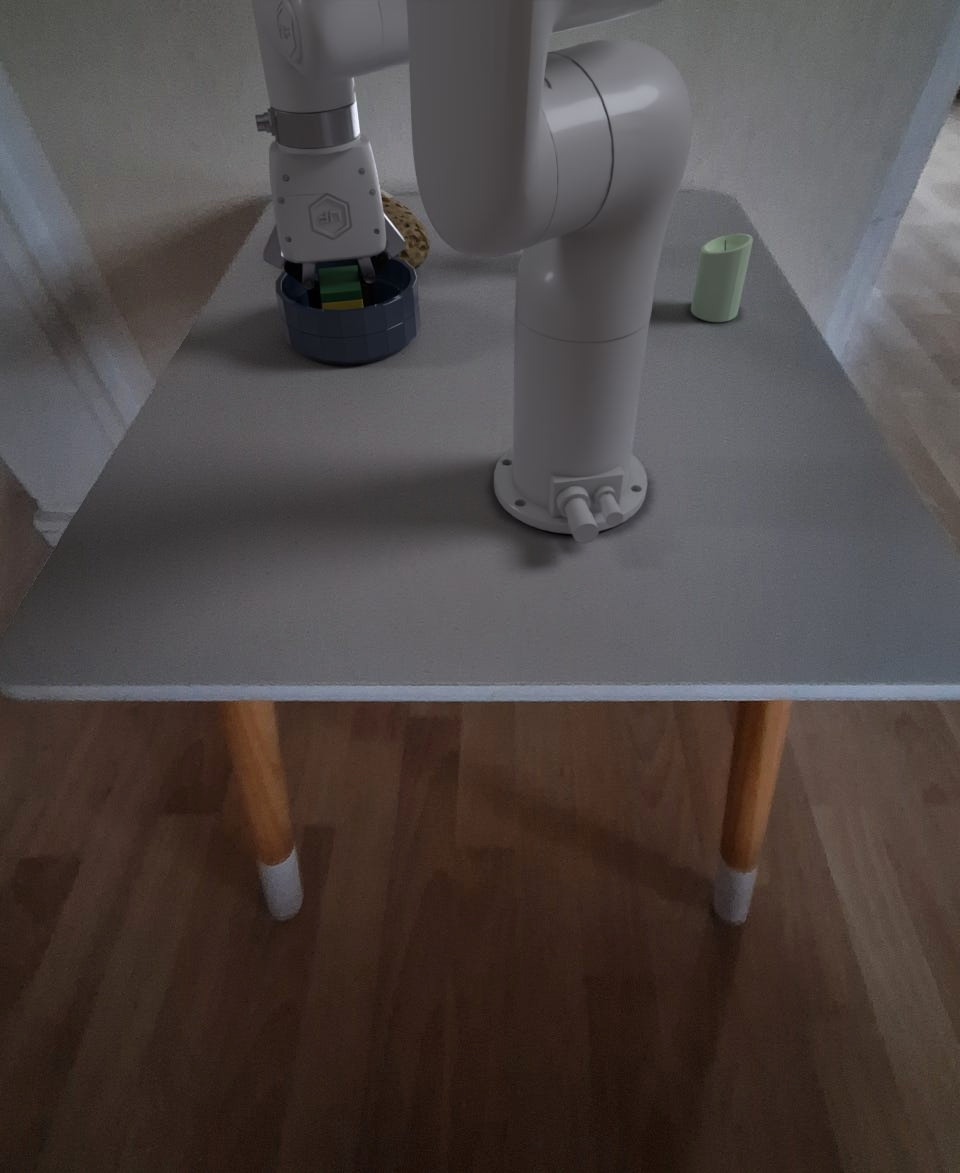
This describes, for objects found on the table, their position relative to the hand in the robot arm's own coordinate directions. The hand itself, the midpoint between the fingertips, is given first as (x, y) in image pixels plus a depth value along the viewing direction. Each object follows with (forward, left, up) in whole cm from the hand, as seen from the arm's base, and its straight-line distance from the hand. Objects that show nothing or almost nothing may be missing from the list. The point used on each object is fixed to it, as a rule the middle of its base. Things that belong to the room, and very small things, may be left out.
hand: (344, 316), depth 87 cm
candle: (-3, -40, -2) cm, 40 cm away
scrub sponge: (0, 0, 0) cm, 0 cm away
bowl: (0, -1, -2) cm, 2 cm away
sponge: (+20, -5, -2) cm, 21 cm away
